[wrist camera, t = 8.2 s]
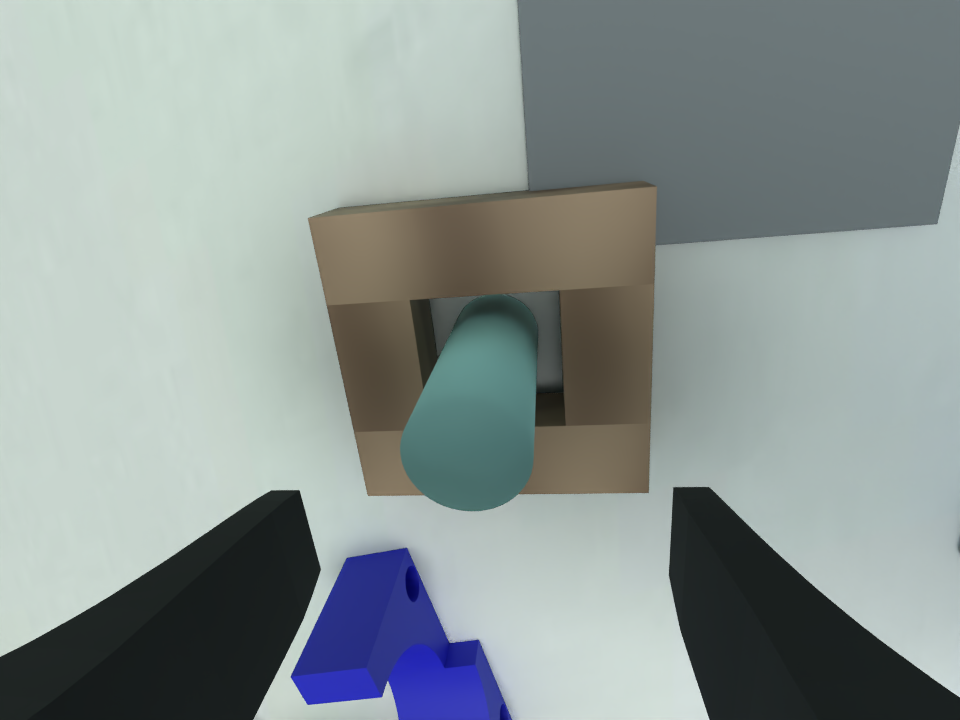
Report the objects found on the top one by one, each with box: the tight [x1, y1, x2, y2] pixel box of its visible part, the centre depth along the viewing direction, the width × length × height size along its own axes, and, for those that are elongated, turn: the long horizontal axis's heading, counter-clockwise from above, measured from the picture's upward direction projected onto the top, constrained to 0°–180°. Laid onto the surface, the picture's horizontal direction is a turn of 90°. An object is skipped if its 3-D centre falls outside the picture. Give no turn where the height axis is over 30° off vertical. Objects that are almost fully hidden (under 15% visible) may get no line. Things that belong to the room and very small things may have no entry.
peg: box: [400, 294, 538, 511], centre depth 15 cm, size 3×3×8 cm
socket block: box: [308, 181, 657, 496], centre depth 18 cm, size 10×10×2 cm
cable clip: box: [291, 548, 512, 720], centre depth 23 cm, size 12×4×6 cm, turn 17°
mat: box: [518, 0, 960, 245], centre depth 15 cm, size 12×10×1 cm
